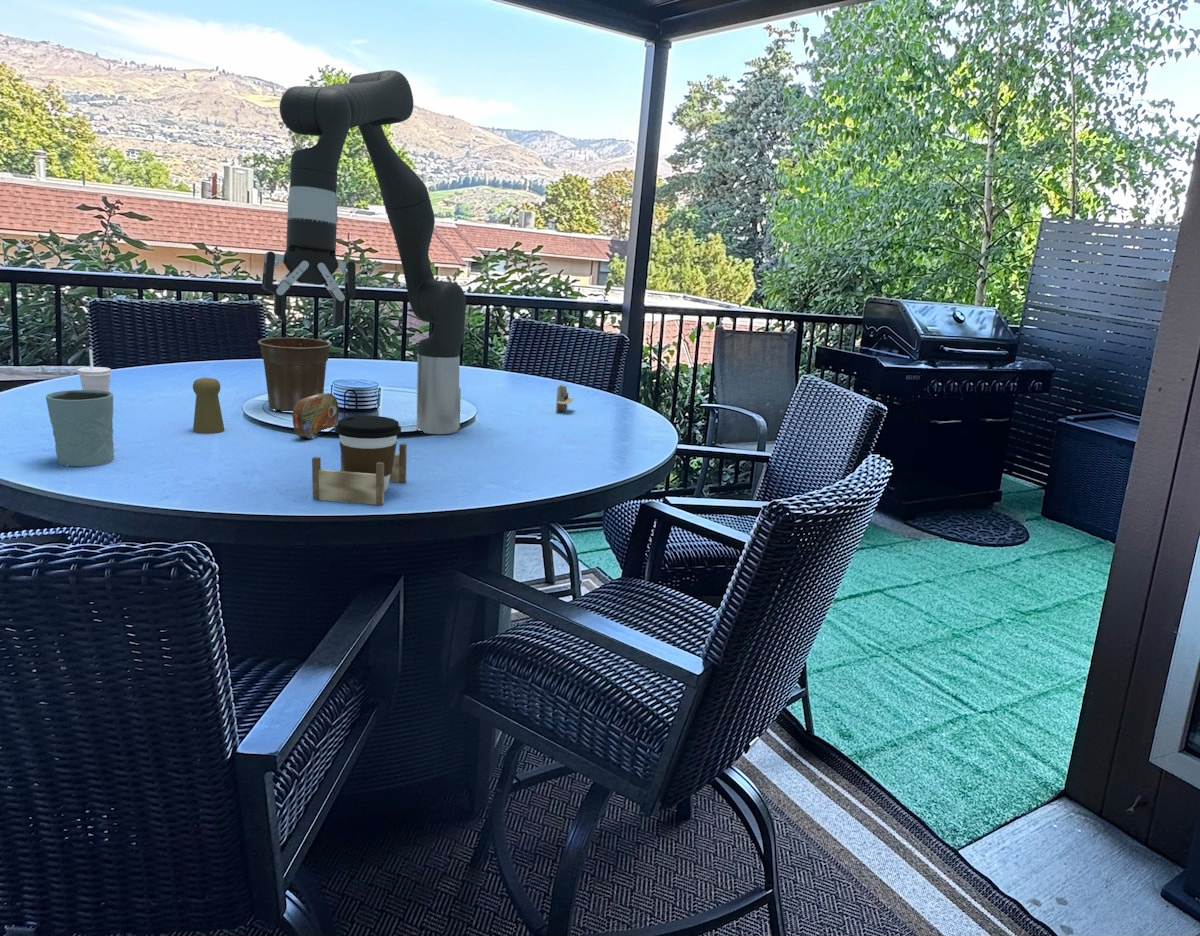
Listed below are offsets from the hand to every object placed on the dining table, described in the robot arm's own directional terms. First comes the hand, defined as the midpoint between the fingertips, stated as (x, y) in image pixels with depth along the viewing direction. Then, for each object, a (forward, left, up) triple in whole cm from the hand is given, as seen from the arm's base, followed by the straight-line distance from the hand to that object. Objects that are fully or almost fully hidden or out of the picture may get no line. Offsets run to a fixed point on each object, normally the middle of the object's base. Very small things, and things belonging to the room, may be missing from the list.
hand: (308, 322), depth 138 cm
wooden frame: (-4, +8, -28) cm, 29 cm away
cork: (-17, -44, -28) cm, 55 cm away
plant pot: (-45, -47, -28) cm, 71 cm away
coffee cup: (-4, +9, -28) cm, 30 cm away
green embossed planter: (+12, -41, -28) cm, 51 cm away
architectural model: (-89, +2, -29) cm, 94 cm away
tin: (-29, -26, -28) cm, 48 cm away
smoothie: (-13, -73, -28) cm, 79 cm away
